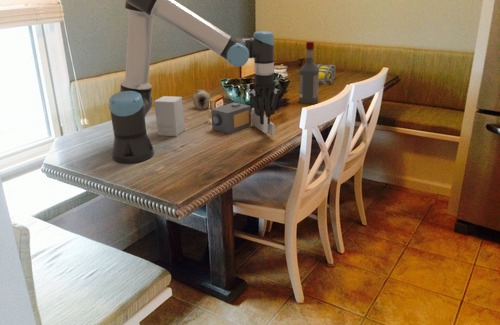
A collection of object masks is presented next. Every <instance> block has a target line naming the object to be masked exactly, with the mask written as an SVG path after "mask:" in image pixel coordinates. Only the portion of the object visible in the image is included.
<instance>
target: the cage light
mask: <svg viewBox="0 0 500 325" xmlns="http://www.w3.org/2000/svg"><path fill="white" fill-rule="evenodd" d="M316 65H317V67H318V68H319V84H318V85H327V86H329V85H328V84H331V85H332V83H333V84H334V82H335V80H334V79H336V78H337V77H336V76H337V75H336V73H337V67H336V66H335V65H334V64H320V63H319V64H316ZM333 81H334V82H333Z"/></svg>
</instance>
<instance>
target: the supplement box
mask: <svg viewBox="0 0 500 325" xmlns="http://www.w3.org/2000/svg"><path fill="white" fill-rule="evenodd" d="M153 102H154V109H155V110H154V112H155V118H156V125H157V126H156V127H157V128H156V129H157V136H165V137H178V136H180V135H181V134H183V132H185V130H186V126H185V117H184V105H183V97H182V96H170V95H169V96H168V95H165V96H164V95H163V96H161V97H159V98H157V99H156V100H154V101H153Z"/></svg>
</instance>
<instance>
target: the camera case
mask: <svg viewBox="0 0 500 325" xmlns="http://www.w3.org/2000/svg"><path fill="white" fill-rule="evenodd" d="M210 110H211V128H212V130H214V131H217V132H221V133H225V134H232V133H235V132H237V131H241V130H243V129H246V128H248V127H251V126H252V108H251V105H249V104H244V103H240V102H239V103H238V102H235V101H234V102H230V103H227V104H224V105H220V106H216V107H213V108H211V109H210Z"/></svg>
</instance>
